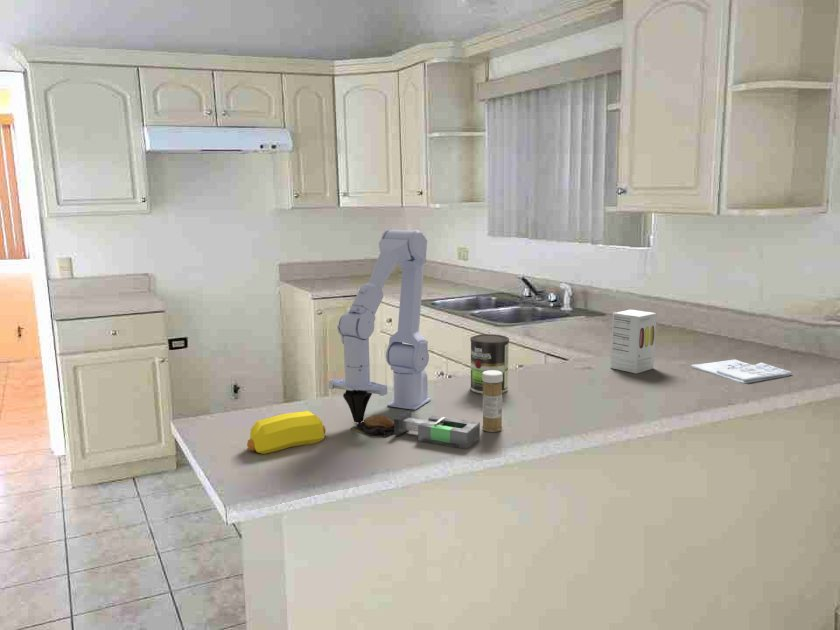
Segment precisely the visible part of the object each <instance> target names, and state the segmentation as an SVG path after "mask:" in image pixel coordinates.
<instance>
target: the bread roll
mask: <svg viewBox="0 0 840 630" xmlns="http://www.w3.org/2000/svg"><path fill="white" fill-rule="evenodd" d="M351 430H352V431H354V432H358V433H361V434H364V435H368V436H372V437H375V438H379V437H383V438H384V437H385V438H389V437H392V436H395V435H394V420H392V419H391V418H390V417H388V416H386V415H384V414H373V415H369V416H368V417H366V418H365V417H364V418H363V421H361V422H359V423H357V424H356V426H353V427H351Z"/></svg>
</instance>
